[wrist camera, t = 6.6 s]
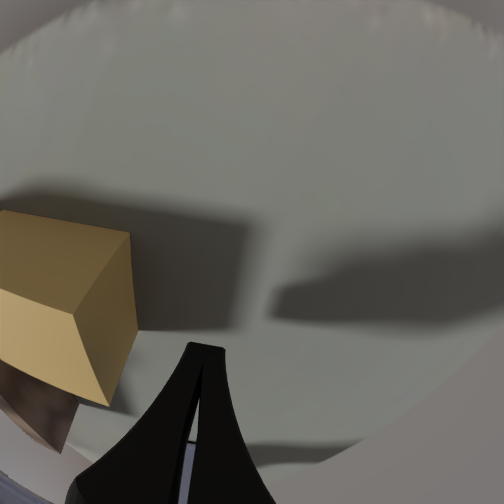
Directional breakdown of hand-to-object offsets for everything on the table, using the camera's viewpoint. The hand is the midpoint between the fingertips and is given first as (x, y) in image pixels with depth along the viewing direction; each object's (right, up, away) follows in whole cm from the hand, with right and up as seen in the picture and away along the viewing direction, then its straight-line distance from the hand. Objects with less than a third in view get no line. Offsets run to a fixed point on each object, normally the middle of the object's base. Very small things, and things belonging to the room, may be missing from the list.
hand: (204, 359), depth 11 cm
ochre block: (-8, +3, +2) cm, 8 cm away
